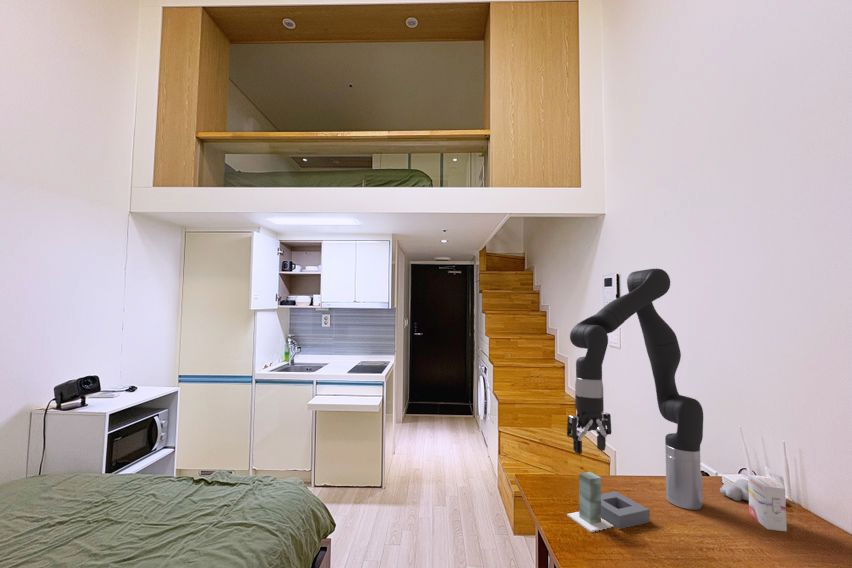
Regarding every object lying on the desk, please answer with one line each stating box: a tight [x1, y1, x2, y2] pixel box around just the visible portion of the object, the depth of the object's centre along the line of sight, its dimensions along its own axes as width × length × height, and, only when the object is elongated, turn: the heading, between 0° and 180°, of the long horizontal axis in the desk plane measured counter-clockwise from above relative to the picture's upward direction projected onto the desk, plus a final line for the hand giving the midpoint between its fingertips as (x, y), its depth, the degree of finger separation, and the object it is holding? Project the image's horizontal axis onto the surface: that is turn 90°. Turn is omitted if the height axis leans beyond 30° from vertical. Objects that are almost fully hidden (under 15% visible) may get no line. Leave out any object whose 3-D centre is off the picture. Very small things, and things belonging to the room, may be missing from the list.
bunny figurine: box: [719, 478, 749, 502], centre depth 125 cm, size 10×5×15 cm
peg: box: [578, 471, 602, 524], centre depth 108 cm, size 4×4×12 cm
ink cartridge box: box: [747, 465, 788, 532], centre depth 110 cm, size 9×5×15 cm, turn 168°
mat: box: [566, 511, 614, 534], centre depth 107 cm, size 8×9×1 cm
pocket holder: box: [601, 490, 650, 530], centre depth 111 cm, size 12×12×4 cm
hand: (589, 451), depth 109 cm, fingers open, 8 cm apart
